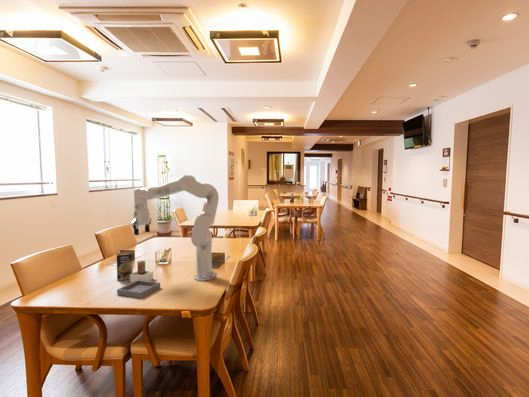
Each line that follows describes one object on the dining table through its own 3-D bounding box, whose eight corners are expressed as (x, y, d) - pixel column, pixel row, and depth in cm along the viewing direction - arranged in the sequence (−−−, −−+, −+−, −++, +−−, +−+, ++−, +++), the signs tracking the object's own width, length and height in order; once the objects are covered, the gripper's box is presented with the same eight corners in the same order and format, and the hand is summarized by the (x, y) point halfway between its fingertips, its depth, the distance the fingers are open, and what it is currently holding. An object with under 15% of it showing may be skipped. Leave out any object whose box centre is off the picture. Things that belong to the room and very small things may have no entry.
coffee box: (117, 281, 188) (116, 255, 187) (117, 278, 194) (115, 253, 192) (133, 278, 192) (132, 253, 191) (132, 275, 198) (131, 251, 197)
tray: (160, 287, 176) (160, 282, 176) (141, 298, 161) (141, 292, 161) (137, 284, 181) (137, 279, 181) (117, 294, 166) (117, 289, 166)
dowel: (147, 279, 190) (146, 261, 189) (142, 282, 186) (141, 263, 185) (141, 279, 192) (140, 260, 191) (136, 281, 187) (135, 262, 186)
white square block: (153, 278, 192) (153, 271, 191) (142, 283, 183) (142, 275, 182) (141, 277, 195) (140, 269, 194) (130, 282, 186) (129, 274, 185)
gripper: (135, 208, 185) (136, 236, 186) (155, 205, 201) (155, 231, 202) (126, 208, 187) (127, 235, 188) (145, 205, 203) (146, 230, 205)
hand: (142, 233), depth 195 cm, fingers open, 9 cm apart
